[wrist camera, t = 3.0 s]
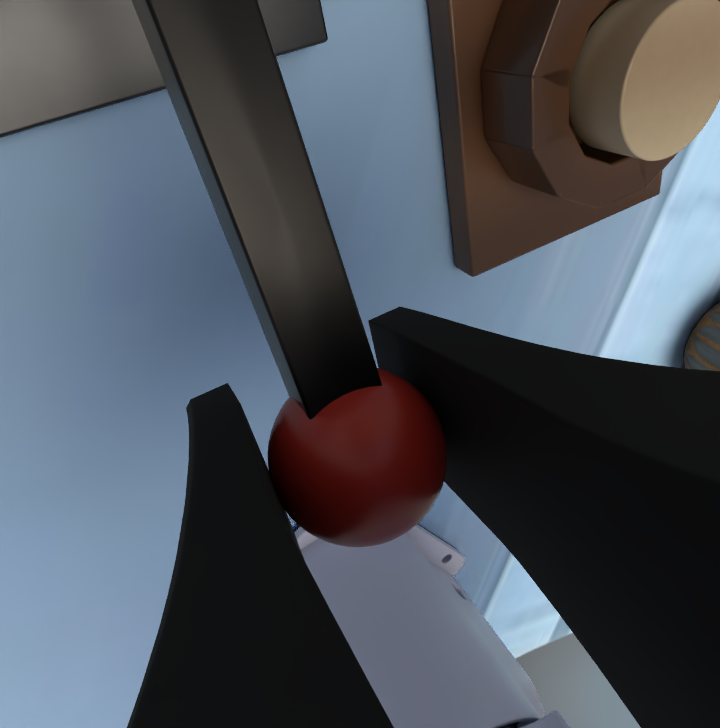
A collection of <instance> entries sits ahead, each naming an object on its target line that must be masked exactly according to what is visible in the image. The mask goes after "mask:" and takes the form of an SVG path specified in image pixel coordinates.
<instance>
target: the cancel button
mask: <svg viewBox="0 0 720 728" xmlns="http://www.w3.org/2000/svg"><path fill="white" fill-rule="evenodd" d="M719 100H720V2H719V1H718V0H620V1H618V2H616V3H615V4H613V5H612V6H611V7H609V8H608V9H607V10H606V11H605V12H604V13H603V14H602V15H601V16H600V17H599V18H598V19H597V20H596V21H595V23H594V24H593V25H592V26H591V28H590V30H589V31H588V33H587V35H586V37H585V40H584V43H583V45H582V48H581V50H580V53H579V56H578V58H577V61H576V63H575V66H574V69H573V71H572V74H571V76H570V105H569V115H570V119H571V123H572V125H573V128H574V130H575V132H576V133H577V135H578V136H579V137H580V139H581V140H582V141H583V142H584V143H586V144H587V145H589V146H591V147H593V148H596V149H600V150H604V151H608V152H613V153H617V154H621V155H625V156H629V157H633V158H637V159H642V160H646V161H658V160H662V159H665V158H668V157H670V156H672V155H674V154H676V153H678V152H679V151H680V150H682V149H683V148H684V147H686V146H687V145H688V144H689V143H690V142H691V141H692V140H693V139H694V138H695V137H696V136H697V135H698V133H699V132H700V131H701V130H702V129H703V127H704V126H705V124H706V123H707V122H708V120H709V118H710V117H711V115H712V113H713V112H714V110H715V108H716V106H717V104H718V102H719Z"/></svg>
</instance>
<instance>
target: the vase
mask: <svg viewBox="0 0 720 728" xmlns="http://www.w3.org/2000/svg"><path fill="white" fill-rule="evenodd" d="M684 364H685V368H686V369H699V370H711V371H720V302H719V303H717V304H716V305H715V306H713V307H712V308H711V309H710V310H709V311H708V312H707V313H706V314H705V315H704V316H703V317H702V318H701V320H700V321H699V322H698V324H697V325H696V327H695V328H694V330H693V331H692V333H691V335H690V337H689V339H688V342H687V345H686V348H685V353H684Z"/></svg>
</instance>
